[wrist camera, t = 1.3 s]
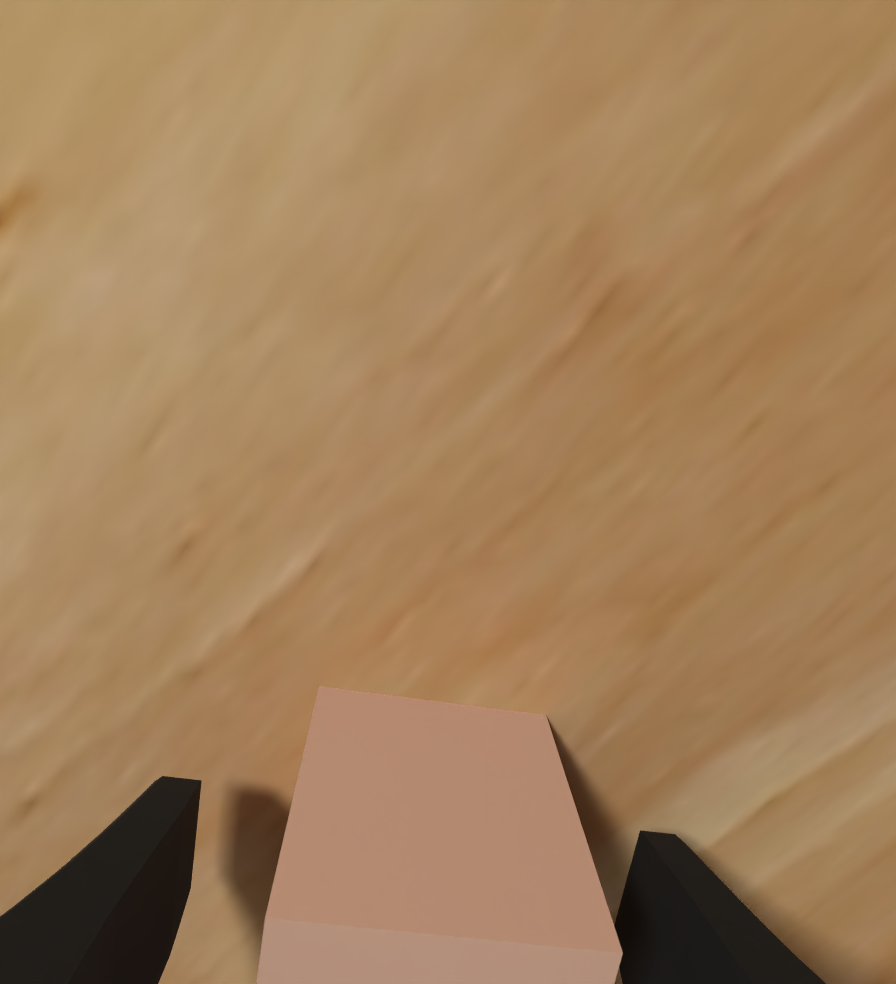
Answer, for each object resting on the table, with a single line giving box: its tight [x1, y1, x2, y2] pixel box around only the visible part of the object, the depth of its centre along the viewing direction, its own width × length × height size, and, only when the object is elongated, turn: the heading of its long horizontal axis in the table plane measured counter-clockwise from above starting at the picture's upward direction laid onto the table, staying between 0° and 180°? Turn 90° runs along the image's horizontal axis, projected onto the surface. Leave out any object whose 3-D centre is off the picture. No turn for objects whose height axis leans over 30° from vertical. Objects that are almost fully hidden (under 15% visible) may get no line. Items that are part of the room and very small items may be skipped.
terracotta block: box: [256, 686, 623, 984], centre depth 11 cm, size 4×4×5 cm
